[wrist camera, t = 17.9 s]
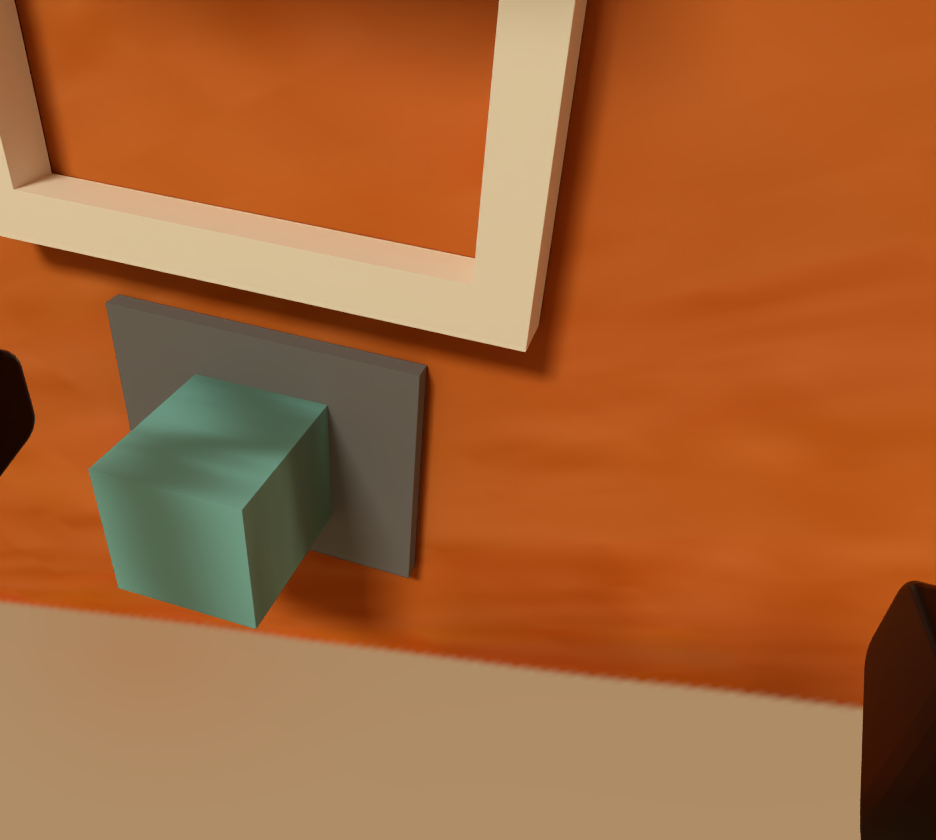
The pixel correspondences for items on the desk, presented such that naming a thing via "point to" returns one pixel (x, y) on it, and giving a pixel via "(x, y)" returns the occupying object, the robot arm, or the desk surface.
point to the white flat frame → (324, 250)
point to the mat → (305, 377)
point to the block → (216, 497)
